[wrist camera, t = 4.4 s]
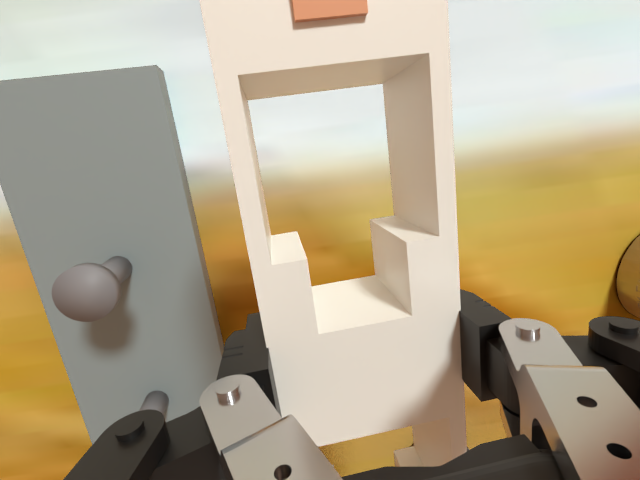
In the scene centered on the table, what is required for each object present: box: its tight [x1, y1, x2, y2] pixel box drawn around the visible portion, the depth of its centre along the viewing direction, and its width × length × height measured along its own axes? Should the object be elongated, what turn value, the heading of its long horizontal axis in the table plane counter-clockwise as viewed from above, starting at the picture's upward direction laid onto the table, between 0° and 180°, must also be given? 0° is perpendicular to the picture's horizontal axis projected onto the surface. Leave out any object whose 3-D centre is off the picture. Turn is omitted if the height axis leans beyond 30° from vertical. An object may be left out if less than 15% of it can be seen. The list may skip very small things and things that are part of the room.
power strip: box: [199, 0, 467, 467], centre depth 11 cm, size 5×21×4 cm, turn 8°
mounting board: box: [0, 65, 224, 445], centre depth 22 cm, size 10×28×6 cm, turn 8°
